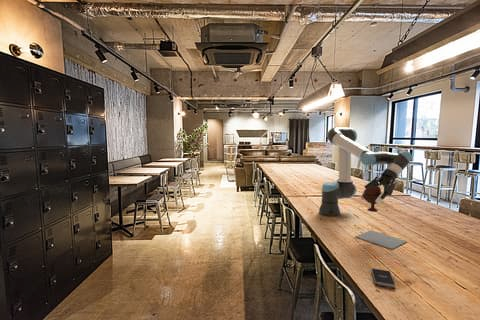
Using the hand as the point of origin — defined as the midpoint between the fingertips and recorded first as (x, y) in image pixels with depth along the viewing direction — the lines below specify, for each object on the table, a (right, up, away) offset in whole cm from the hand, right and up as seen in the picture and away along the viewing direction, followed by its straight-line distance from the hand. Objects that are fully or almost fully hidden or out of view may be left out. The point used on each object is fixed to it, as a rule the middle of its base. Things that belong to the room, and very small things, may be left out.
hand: (368, 200), depth 148 cm
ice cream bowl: (+3, -6, +1) cm, 7 cm away
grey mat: (+4, -21, -4) cm, 22 cm away
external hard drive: (-17, -26, -44) cm, 54 cm away
